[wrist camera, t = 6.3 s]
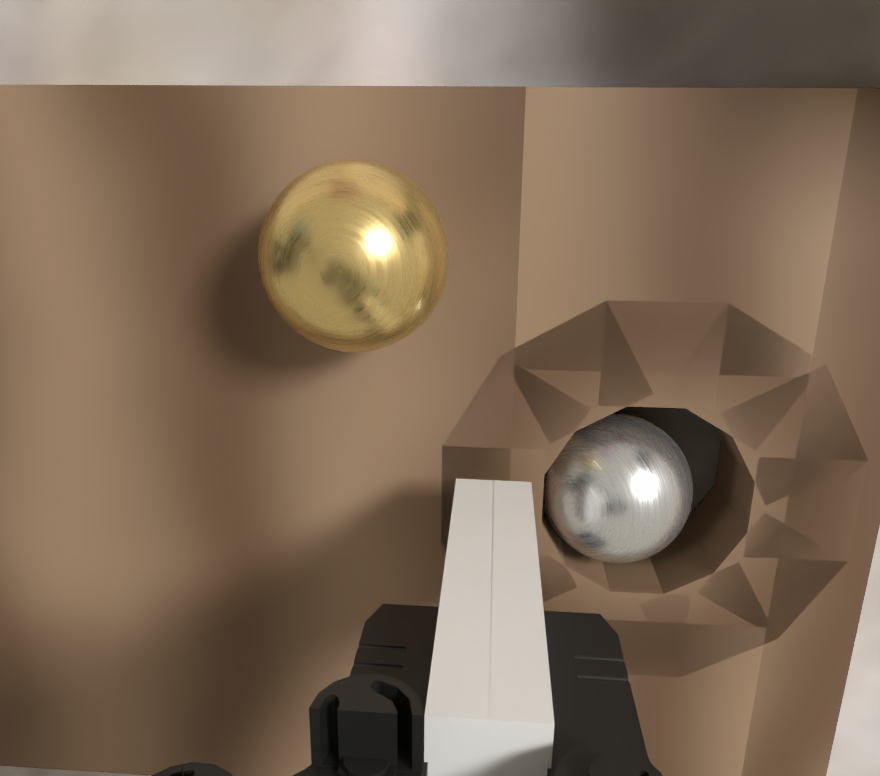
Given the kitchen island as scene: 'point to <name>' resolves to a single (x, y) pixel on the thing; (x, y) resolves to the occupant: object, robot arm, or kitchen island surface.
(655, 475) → the steel ball
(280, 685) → the board
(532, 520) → the robot arm
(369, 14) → the kitchen island surface
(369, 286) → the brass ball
